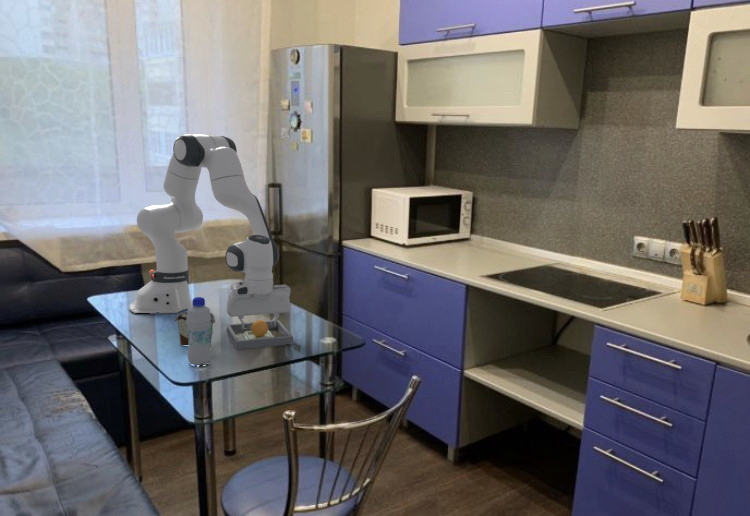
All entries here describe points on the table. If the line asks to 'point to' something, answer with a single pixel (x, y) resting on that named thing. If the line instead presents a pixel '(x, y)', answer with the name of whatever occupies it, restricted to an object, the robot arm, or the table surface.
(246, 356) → the table surface
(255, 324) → the ball
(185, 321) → the food container
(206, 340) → the bottle
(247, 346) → the low wall pen
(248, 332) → the resting pad
